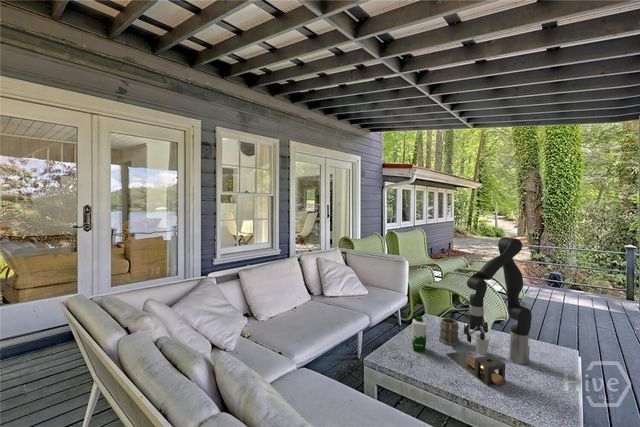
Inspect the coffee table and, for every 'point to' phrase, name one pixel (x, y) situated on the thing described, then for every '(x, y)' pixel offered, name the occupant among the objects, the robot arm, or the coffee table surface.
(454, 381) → the coffee table surface
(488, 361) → the dark grey holder
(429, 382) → the coffee table surface
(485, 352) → the dixie cup
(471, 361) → the tube
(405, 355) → the coffee table surface
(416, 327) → the milk carton
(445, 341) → the tankard
